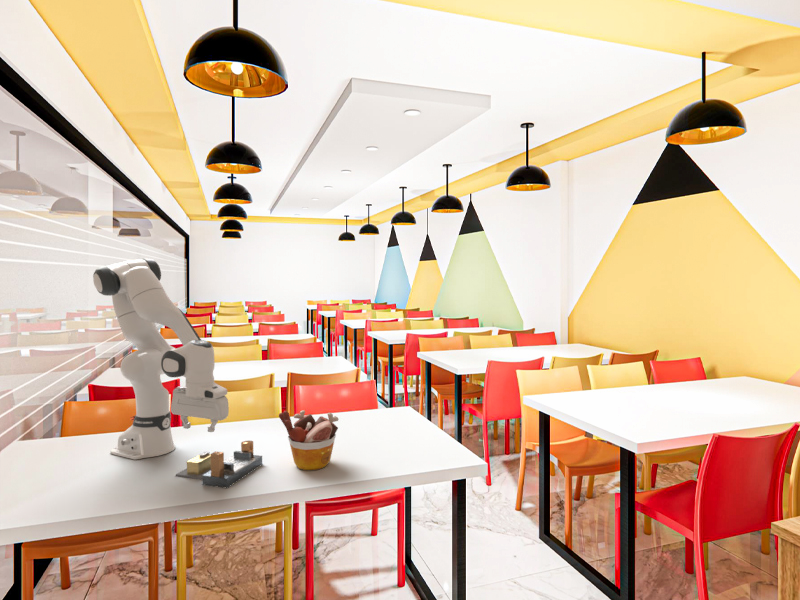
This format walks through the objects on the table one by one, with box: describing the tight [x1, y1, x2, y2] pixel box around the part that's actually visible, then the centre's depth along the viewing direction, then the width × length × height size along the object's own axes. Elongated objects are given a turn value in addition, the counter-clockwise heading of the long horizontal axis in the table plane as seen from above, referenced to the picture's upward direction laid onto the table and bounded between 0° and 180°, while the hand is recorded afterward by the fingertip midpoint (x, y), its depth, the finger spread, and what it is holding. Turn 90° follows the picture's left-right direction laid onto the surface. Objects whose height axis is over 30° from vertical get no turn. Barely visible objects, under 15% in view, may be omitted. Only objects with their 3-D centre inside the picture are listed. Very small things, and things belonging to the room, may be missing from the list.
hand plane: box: [201, 440, 263, 489], centre depth 162 cm, size 20×9×10 cm, turn 164°
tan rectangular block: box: [186, 451, 212, 475], centre depth 165 cm, size 8×4×5 cm, turn 164°
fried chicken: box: [278, 409, 339, 471], centre depth 170 cm, size 20×16×20 cm
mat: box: [175, 467, 211, 480], centre depth 165 cm, size 11×11×1 cm
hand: (198, 429), depth 165 cm, fingers open, 8 cm apart
